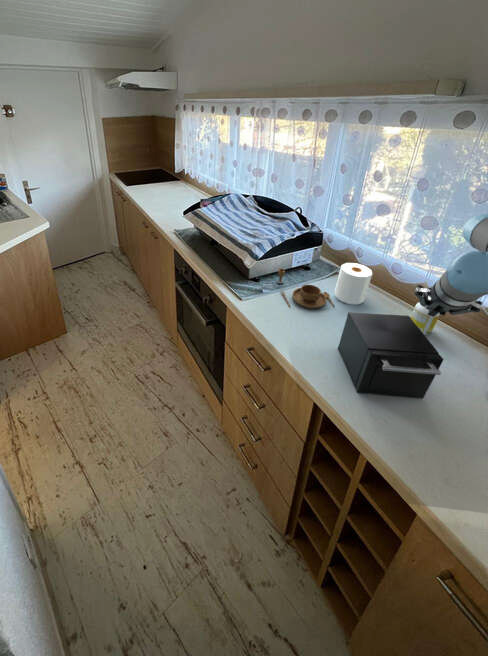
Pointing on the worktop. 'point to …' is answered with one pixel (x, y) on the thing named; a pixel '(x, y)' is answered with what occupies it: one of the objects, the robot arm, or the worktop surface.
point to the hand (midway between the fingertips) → (431, 311)
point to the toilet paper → (353, 283)
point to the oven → (379, 338)
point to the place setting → (307, 295)
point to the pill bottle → (424, 318)
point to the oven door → (398, 373)
